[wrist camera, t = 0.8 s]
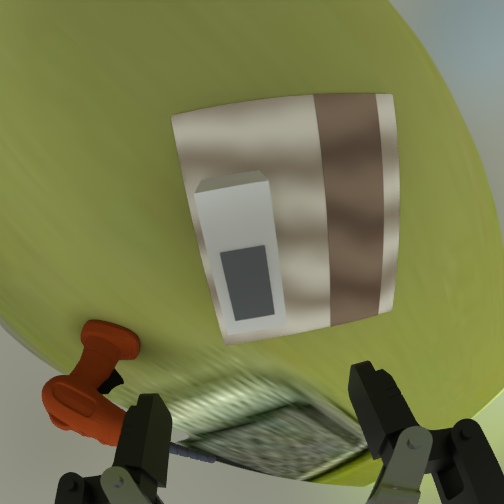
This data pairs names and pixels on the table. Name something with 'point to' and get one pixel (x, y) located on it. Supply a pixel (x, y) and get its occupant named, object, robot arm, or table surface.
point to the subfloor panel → (309, 197)
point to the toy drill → (98, 388)
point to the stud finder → (242, 250)
